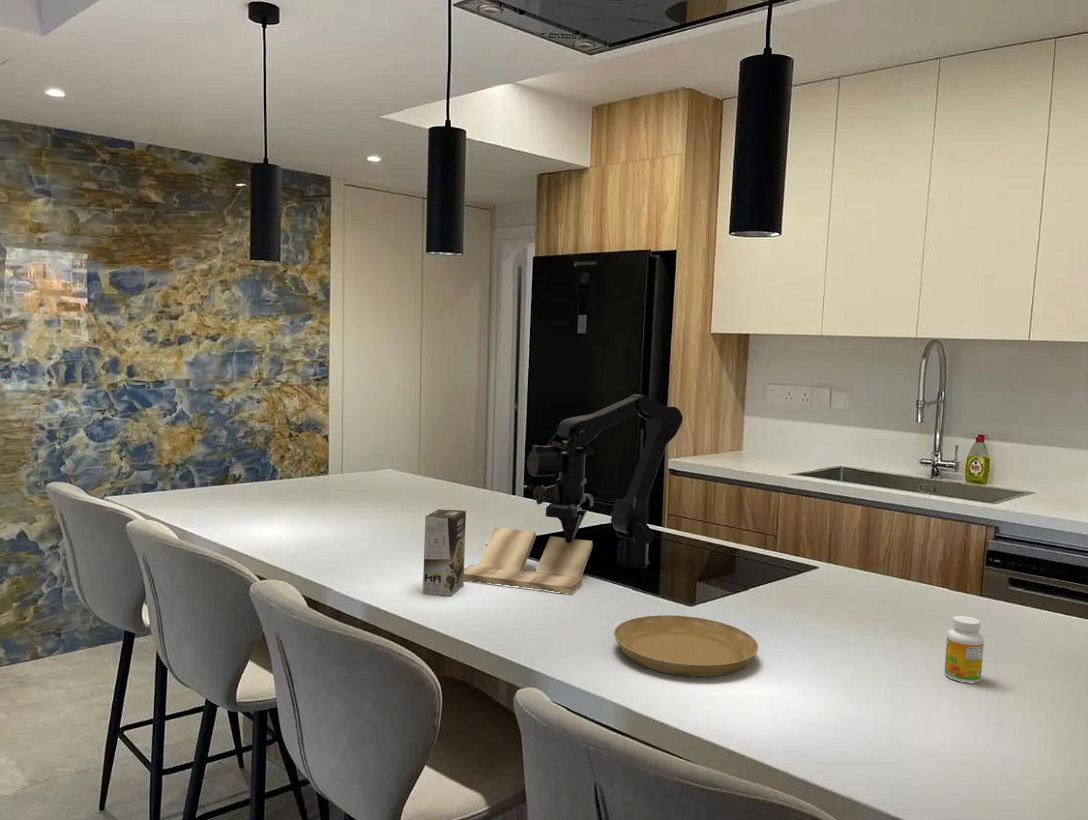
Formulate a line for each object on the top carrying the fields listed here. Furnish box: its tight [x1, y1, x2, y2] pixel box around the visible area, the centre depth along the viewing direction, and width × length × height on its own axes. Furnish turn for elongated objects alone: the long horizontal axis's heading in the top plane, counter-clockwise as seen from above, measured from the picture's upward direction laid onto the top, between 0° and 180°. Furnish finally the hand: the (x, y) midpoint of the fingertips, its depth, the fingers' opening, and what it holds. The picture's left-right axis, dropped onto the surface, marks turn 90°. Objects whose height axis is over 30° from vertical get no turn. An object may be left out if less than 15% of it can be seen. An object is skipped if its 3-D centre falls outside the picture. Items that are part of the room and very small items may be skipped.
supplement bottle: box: [943, 615, 985, 683], centre depth 141 cm, size 5×5×10 cm
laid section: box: [464, 564, 583, 595], centre depth 187 cm, size 26×8×2 cm, turn 72°
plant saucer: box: [613, 614, 759, 677], centre depth 147 cm, size 24×24×3 cm
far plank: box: [477, 527, 537, 571], centre depth 199 cm, size 10×12×2 cm
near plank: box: [534, 535, 594, 578], centre depth 195 cm, size 10×12×2 cm
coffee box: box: [422, 509, 467, 597], centre depth 180 cm, size 9×6×16 cm
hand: (568, 542), depth 198 cm, fingers closed
